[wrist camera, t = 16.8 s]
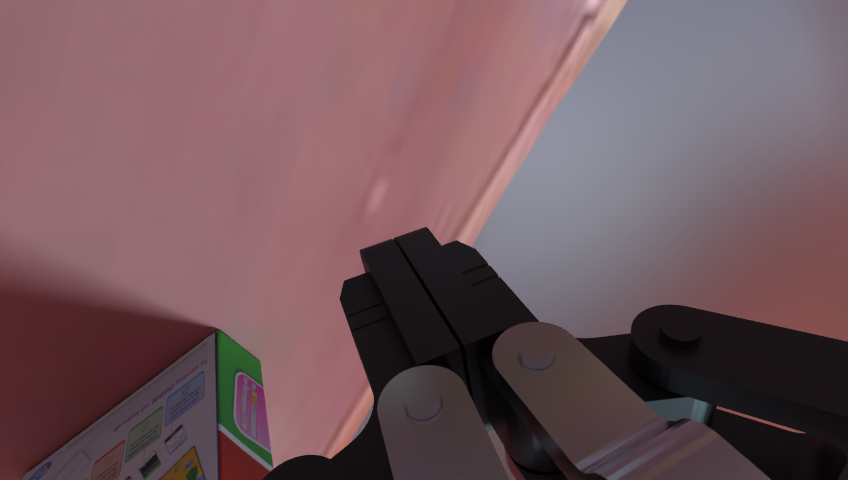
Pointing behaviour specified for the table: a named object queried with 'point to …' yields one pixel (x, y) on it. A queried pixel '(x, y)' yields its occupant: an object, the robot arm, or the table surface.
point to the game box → (178, 425)
